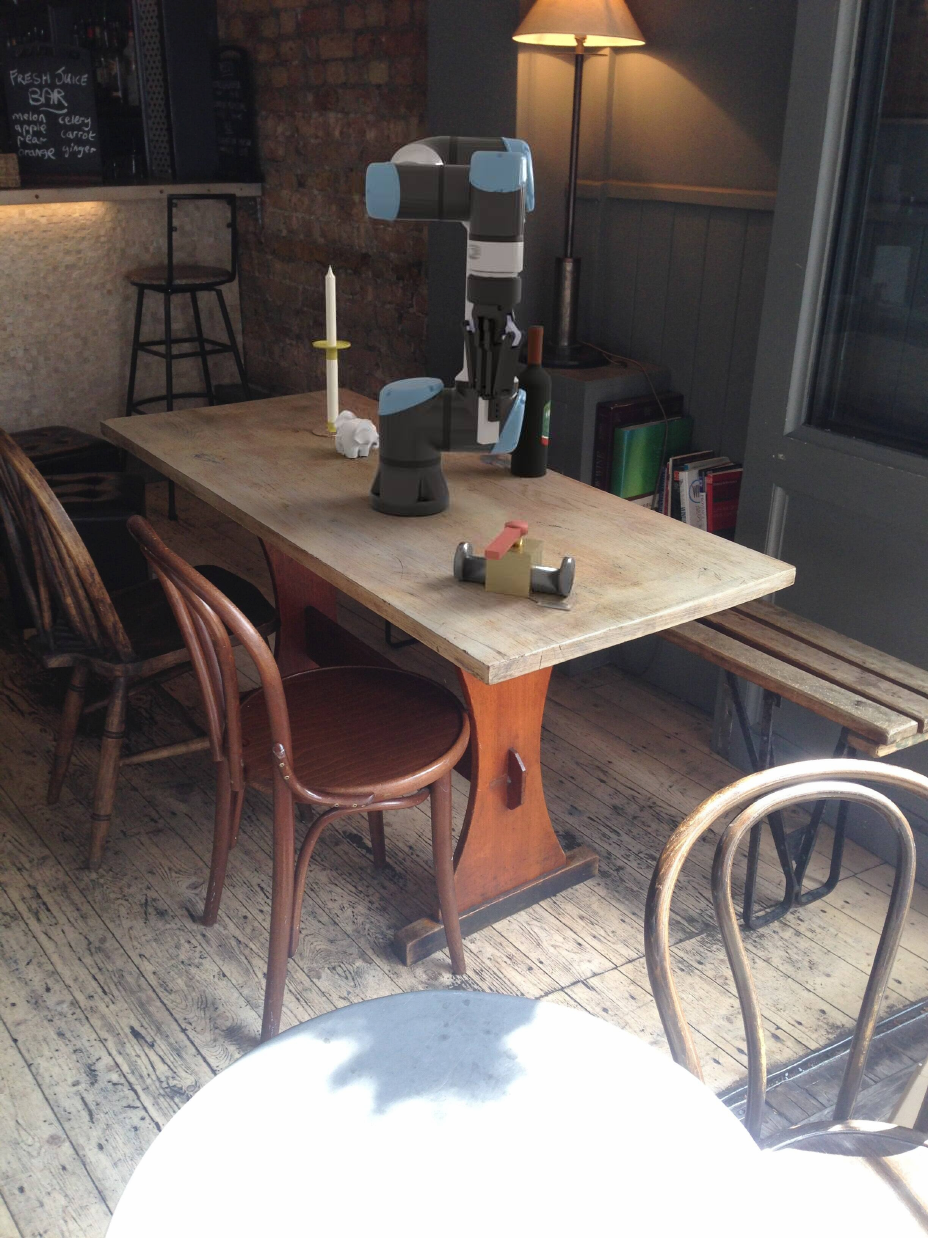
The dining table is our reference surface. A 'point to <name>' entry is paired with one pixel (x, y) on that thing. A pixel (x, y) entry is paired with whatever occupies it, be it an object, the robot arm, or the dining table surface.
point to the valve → (517, 571)
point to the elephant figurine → (354, 435)
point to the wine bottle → (533, 413)
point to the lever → (506, 539)
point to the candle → (331, 351)
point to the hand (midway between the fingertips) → (487, 442)
